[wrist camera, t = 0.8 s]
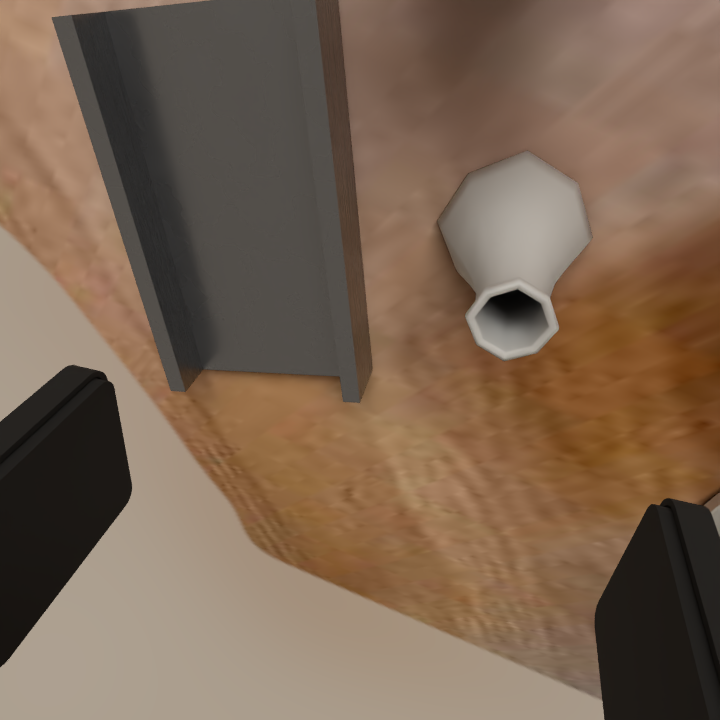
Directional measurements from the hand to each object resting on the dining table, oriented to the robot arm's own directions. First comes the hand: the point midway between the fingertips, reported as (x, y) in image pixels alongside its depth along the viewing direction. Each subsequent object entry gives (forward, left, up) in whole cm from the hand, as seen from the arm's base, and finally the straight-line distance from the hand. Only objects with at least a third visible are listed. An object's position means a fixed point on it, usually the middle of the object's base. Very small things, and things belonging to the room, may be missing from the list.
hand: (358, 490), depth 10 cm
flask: (-3, -3, -23) cm, 23 cm away
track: (-2, +11, -22) cm, 25 cm away
